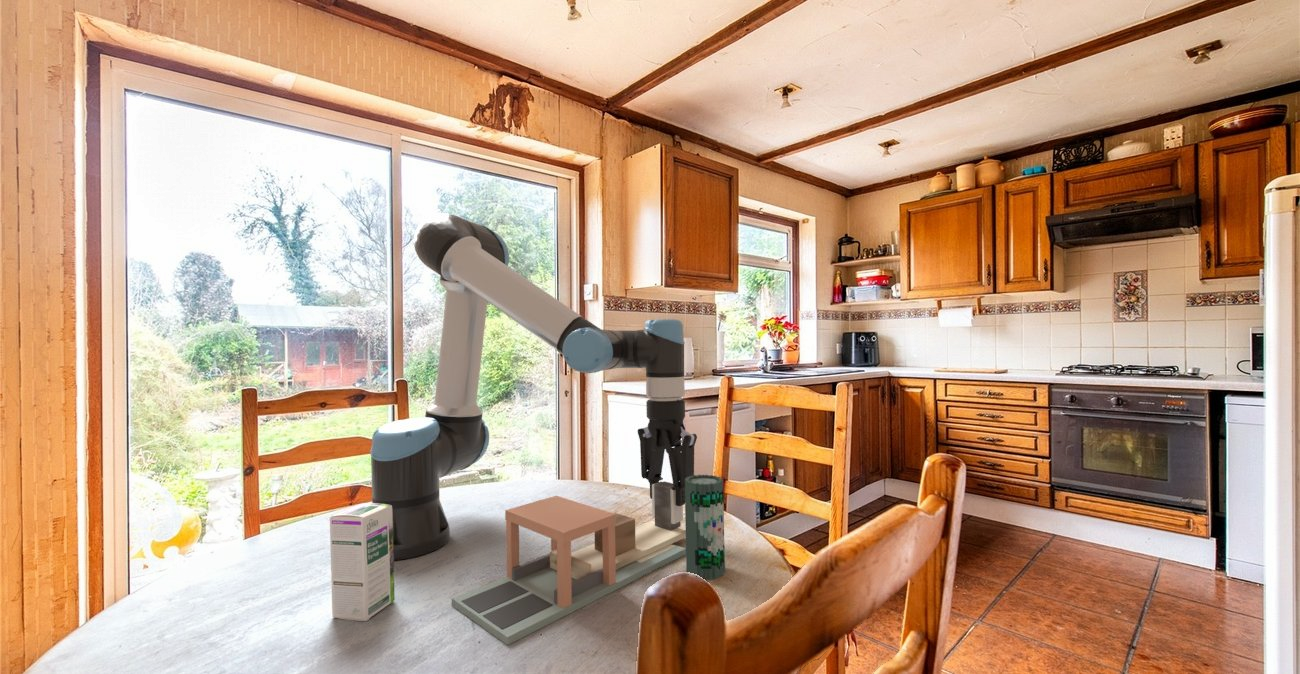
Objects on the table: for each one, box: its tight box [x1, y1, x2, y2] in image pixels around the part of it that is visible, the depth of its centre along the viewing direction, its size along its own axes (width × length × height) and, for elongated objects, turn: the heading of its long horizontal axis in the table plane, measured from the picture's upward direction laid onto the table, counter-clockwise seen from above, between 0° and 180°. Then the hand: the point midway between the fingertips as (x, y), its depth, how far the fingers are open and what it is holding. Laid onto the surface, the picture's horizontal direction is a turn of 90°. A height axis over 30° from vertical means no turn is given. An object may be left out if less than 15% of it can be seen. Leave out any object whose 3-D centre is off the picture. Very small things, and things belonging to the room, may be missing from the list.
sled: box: [549, 481, 686, 580], centre depth 89 cm, size 9×26×9 cm, turn 137°
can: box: [684, 474, 726, 580], centre depth 83 cm, size 6×6×15 cm
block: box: [593, 512, 636, 556], centre depth 87 cm, size 5×5×5 cm
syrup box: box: [329, 502, 396, 622], centre depth 73 cm, size 6×6×14 cm
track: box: [451, 495, 686, 646], centre depth 82 cm, size 15×36×12 cm, turn 137°
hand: (667, 518), depth 98 cm, fingers closed on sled, 4 cm apart
